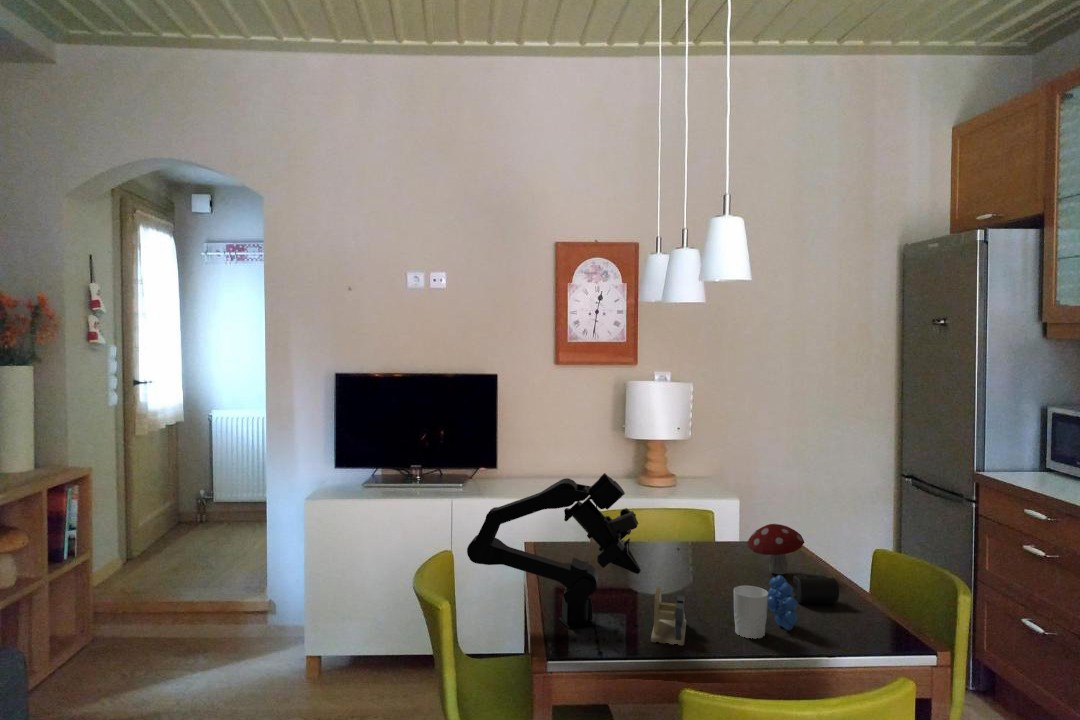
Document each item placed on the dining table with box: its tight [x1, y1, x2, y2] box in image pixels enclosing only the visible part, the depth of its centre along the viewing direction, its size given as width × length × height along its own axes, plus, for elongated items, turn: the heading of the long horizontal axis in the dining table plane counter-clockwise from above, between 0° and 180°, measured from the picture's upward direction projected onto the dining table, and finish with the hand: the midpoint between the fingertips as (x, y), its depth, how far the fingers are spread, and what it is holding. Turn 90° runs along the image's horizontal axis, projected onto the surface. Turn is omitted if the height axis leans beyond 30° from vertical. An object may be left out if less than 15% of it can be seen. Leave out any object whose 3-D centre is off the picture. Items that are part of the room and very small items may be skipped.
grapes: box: [767, 574, 799, 631], centre depth 176 cm, size 12×7×12 cm, turn 11°
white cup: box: [733, 585, 769, 640], centre depth 172 cm, size 8×8×10 cm
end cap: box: [792, 574, 840, 605], centre depth 193 cm, size 10×7×7 cm
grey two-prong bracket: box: [674, 595, 686, 640], centre depth 171 cm, size 2×12×6 cm, turn 166°
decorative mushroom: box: [747, 523, 805, 575], centre depth 215 cm, size 16×16×15 cm
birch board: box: [650, 619, 687, 646], centre depth 172 cm, size 7×13×1 cm, turn 166°
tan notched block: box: [653, 586, 676, 633], centre depth 172 cm, size 4×8×8 cm, turn 166°
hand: (639, 572), depth 173 cm, fingers closed
